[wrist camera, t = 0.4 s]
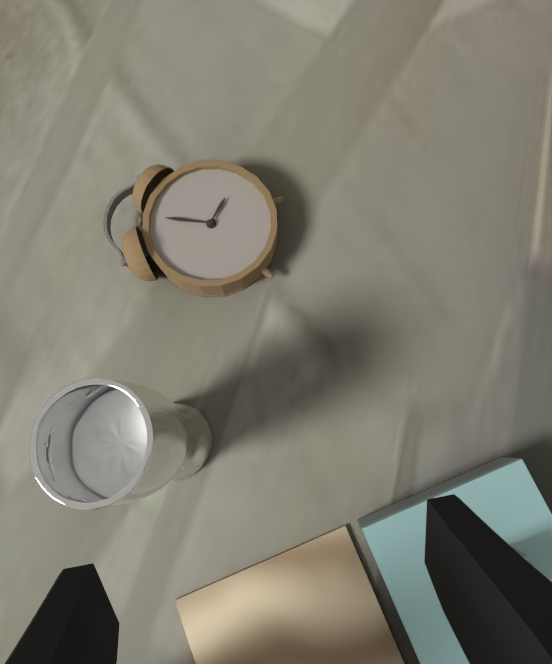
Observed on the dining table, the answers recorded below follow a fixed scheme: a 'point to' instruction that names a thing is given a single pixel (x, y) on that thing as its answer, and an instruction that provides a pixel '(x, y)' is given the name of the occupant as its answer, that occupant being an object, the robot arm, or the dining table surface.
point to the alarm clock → (200, 227)
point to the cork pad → (292, 611)
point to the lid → (409, 551)
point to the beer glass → (114, 443)
